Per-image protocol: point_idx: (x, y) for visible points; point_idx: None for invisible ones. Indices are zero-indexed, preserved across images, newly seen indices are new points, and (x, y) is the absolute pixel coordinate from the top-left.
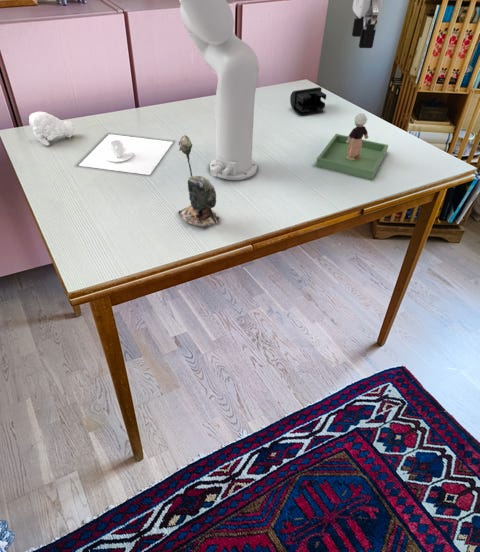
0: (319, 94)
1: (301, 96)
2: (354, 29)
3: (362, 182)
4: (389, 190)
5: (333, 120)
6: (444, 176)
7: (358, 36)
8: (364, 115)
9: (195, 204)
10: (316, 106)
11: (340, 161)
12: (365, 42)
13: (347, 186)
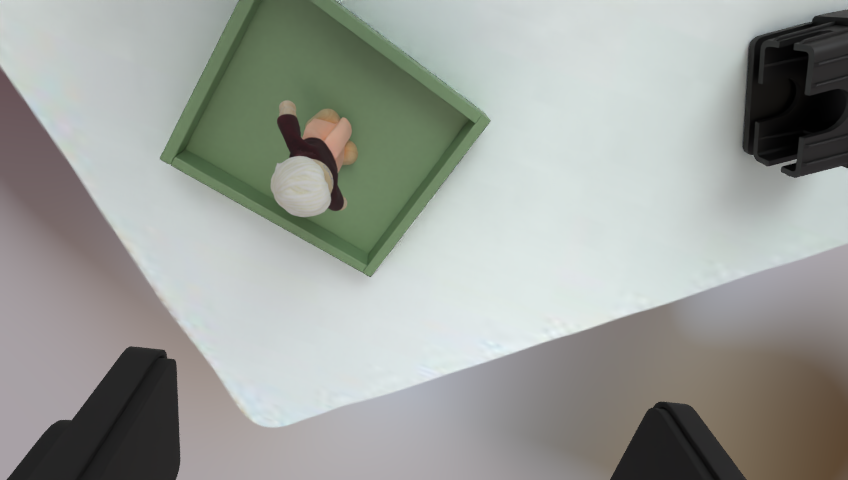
0: (808, 144)
1: (835, 45)
2: (694, 477)
3: (150, 108)
4: (105, 181)
5: (660, 168)
6: (216, 361)
7: (629, 451)
8: (295, 208)
9: None
10: (779, 128)
11: (301, 75)
12: (47, 451)
13: (111, 38)
